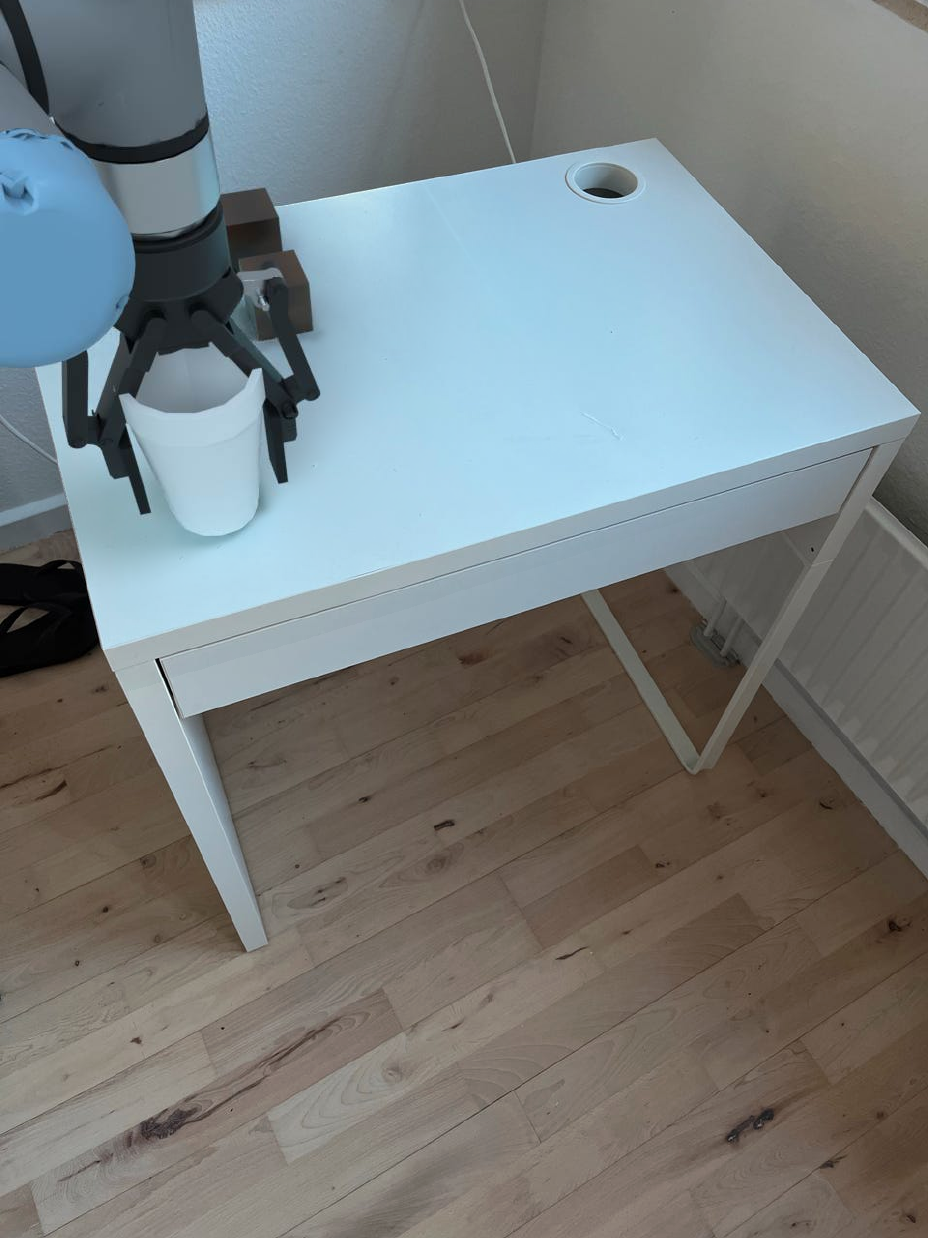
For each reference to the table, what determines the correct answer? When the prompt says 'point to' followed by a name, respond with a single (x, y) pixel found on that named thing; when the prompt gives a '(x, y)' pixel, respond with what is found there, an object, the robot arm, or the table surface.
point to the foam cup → (201, 436)
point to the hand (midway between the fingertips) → (211, 485)
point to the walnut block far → (250, 224)
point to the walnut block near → (296, 286)
